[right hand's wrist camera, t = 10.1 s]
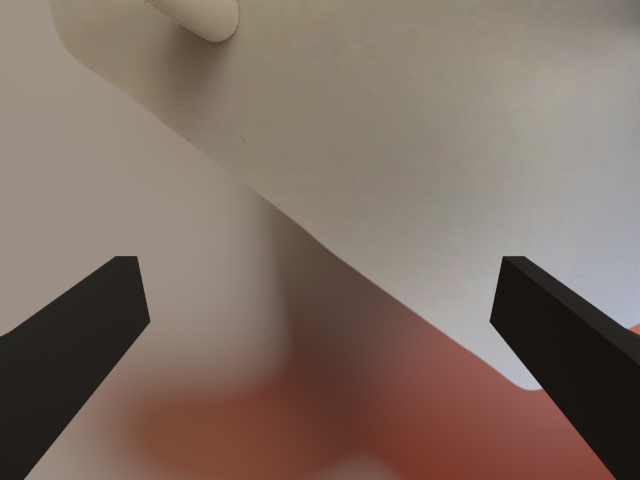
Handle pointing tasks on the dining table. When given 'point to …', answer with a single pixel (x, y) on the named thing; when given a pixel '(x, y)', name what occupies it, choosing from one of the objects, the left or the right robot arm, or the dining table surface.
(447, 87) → the dining table surface
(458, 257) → the dining table surface
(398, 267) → the dining table surface
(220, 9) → the bottle
